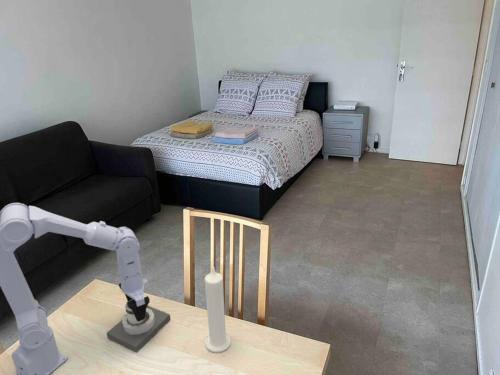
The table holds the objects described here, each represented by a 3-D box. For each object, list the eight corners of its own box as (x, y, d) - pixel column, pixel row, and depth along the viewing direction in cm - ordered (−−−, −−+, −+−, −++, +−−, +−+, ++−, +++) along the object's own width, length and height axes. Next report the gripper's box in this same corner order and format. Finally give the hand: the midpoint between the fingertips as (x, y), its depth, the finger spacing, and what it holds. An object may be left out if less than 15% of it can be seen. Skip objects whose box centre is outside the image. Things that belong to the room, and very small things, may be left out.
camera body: (136, 352, 102) (134, 341, 101) (107, 338, 107) (105, 327, 105) (170, 319, 113) (169, 309, 112) (142, 308, 118) (141, 297, 117)
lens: (148, 326, 108) (145, 305, 106) (130, 332, 106) (127, 311, 103) (144, 315, 112) (141, 295, 110) (126, 321, 110) (123, 301, 107)
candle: (227, 354, 101) (222, 276, 91) (201, 351, 102) (194, 273, 92) (233, 335, 107) (230, 260, 97) (209, 331, 109) (203, 257, 99)
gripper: (153, 280, 99) (159, 321, 104) (137, 254, 110) (143, 292, 115) (125, 289, 95) (133, 331, 101) (112, 261, 107) (119, 300, 112)
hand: (136, 311), depth 108 cm, fingers open, 7 cm apart
